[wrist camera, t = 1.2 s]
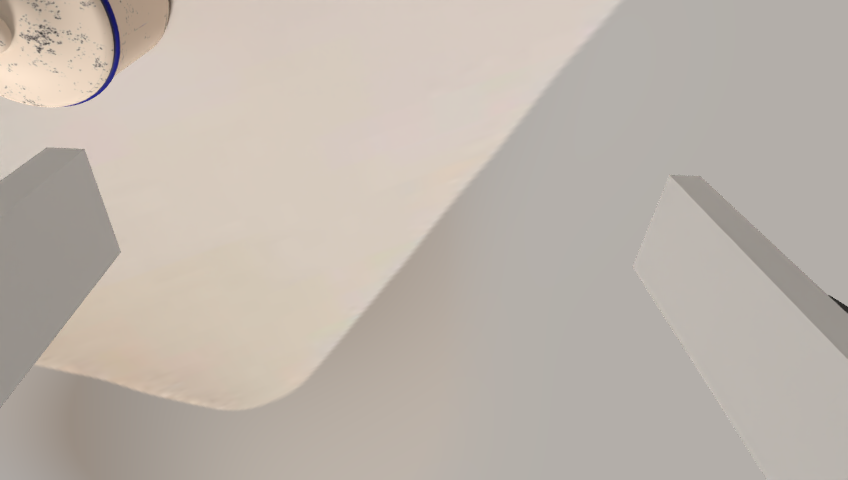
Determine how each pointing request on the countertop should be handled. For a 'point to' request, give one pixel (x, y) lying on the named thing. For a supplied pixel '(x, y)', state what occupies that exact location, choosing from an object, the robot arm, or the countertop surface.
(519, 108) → the countertop surface
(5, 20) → the teacup with lid
